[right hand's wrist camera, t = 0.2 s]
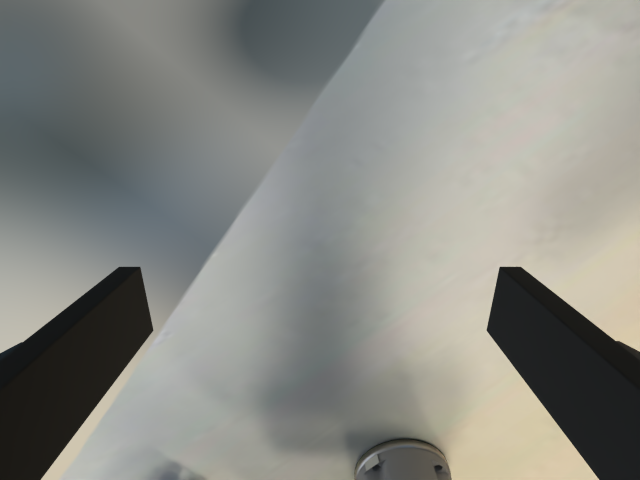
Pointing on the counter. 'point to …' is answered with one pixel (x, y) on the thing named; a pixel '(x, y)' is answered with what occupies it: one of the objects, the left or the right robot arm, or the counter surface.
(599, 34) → the counter surface
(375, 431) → the counter surface
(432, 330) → the counter surface
